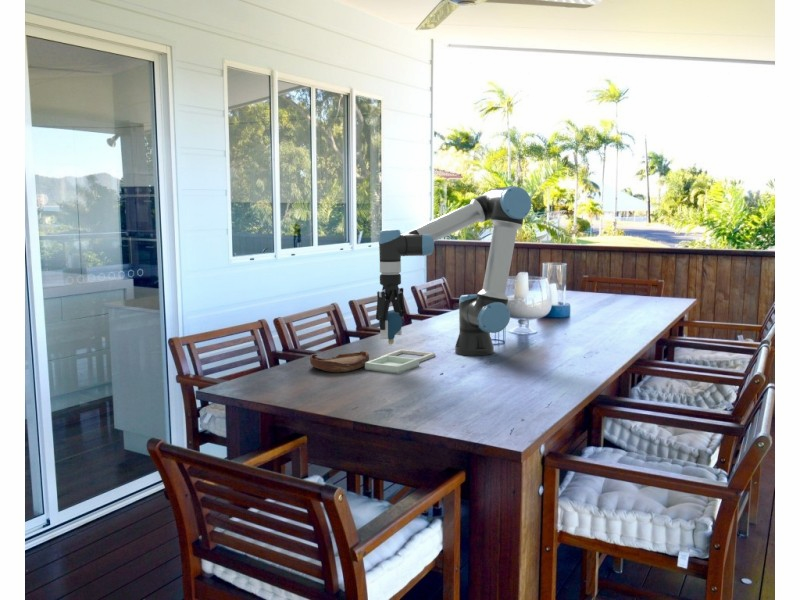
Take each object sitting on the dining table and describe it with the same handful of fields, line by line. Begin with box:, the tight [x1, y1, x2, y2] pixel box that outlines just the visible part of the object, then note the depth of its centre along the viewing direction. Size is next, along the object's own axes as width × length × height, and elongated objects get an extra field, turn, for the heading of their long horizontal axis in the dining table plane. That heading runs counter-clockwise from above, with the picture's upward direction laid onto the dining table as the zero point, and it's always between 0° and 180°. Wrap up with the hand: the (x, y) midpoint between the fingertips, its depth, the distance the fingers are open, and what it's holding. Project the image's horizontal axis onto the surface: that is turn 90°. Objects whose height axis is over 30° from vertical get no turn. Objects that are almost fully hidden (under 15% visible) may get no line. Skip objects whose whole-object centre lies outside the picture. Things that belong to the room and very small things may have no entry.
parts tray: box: [364, 354, 420, 375], centre depth 250 cm, size 14×14×2 cm
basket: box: [309, 350, 370, 373], centre depth 253 cm, size 22×20×5 cm
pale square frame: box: [378, 349, 436, 363], centre depth 266 cm, size 16×16×1 cm
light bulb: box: [378, 310, 403, 345], centre depth 248 cm, size 8×8×12 cm
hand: (391, 336), depth 249 cm, fingers closed on light bulb, 8 cm apart
